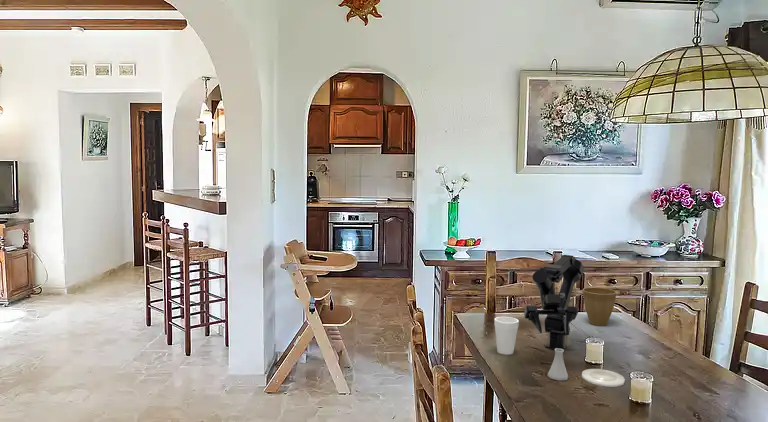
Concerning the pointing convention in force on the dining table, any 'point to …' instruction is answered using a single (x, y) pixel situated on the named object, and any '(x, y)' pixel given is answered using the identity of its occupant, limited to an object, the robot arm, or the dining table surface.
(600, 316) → the plant pot
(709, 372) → the dining table surface
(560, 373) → the flask
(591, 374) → the ceramic plate
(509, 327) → the foam cup
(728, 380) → the dining table surface
